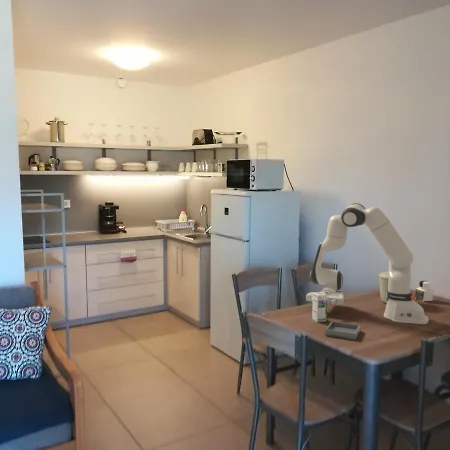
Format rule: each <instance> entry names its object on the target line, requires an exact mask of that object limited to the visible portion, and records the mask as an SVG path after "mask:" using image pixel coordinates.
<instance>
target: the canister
mask: <svg viewBox="0 0 450 450" xmlns="http://www.w3.org/2000/svg"><path fill="white" fill-rule="evenodd" d="M377 277H378V280H379V294H380V300H381V302H383V303H385V304H387V291H388V283H389V270H388V271H381V272H380V273H378V274H377Z"/></svg>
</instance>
